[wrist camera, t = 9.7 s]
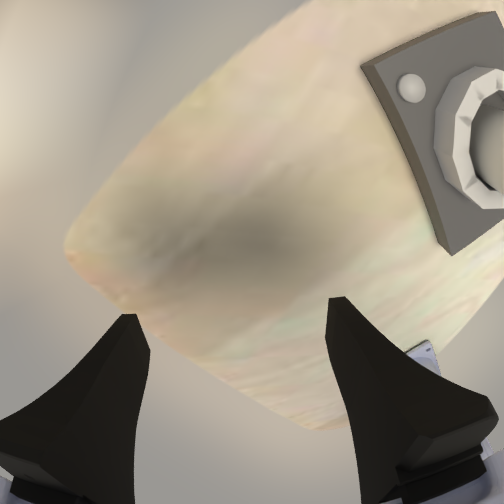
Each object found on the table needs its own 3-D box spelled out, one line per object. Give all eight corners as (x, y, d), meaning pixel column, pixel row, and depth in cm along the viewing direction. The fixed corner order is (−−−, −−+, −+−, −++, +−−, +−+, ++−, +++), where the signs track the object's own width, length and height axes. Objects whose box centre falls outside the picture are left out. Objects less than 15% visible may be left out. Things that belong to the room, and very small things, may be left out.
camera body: (528, 176, 19) (559, 195, 15) (438, 242, 21) (466, 271, 18) (477, 12, 13) (515, 9, 9) (360, 65, 15) (390, 64, 12)
